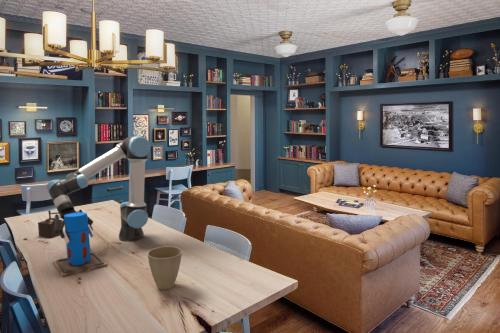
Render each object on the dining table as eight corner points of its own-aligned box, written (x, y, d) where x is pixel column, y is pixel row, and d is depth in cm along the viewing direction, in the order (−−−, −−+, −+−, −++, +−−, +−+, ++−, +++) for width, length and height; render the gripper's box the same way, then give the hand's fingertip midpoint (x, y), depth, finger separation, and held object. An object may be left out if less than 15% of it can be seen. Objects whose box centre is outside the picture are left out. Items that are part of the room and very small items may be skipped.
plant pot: (151, 296, 158) (150, 260, 156) (146, 282, 171) (145, 249, 169) (186, 289, 164) (185, 255, 162) (178, 276, 177) (177, 244, 175)
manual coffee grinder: (51, 238, 234) (49, 210, 232) (38, 236, 238) (36, 209, 235) (70, 231, 248) (69, 205, 246) (58, 229, 252) (56, 203, 250)
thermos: (76, 267, 184) (72, 217, 182) (63, 264, 190) (59, 215, 187) (95, 260, 194) (91, 213, 192) (82, 257, 199) (78, 211, 197)
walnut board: (94, 254, 206) (94, 251, 206) (107, 266, 190) (107, 262, 190) (52, 263, 193) (52, 260, 193) (62, 277, 177) (62, 273, 177)
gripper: (84, 205, 207) (100, 237, 200) (37, 214, 188) (53, 250, 181) (88, 197, 203) (105, 229, 196) (41, 205, 184) (58, 241, 177)
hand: (80, 239), depth 188 cm, fingers open, 12 cm apart
